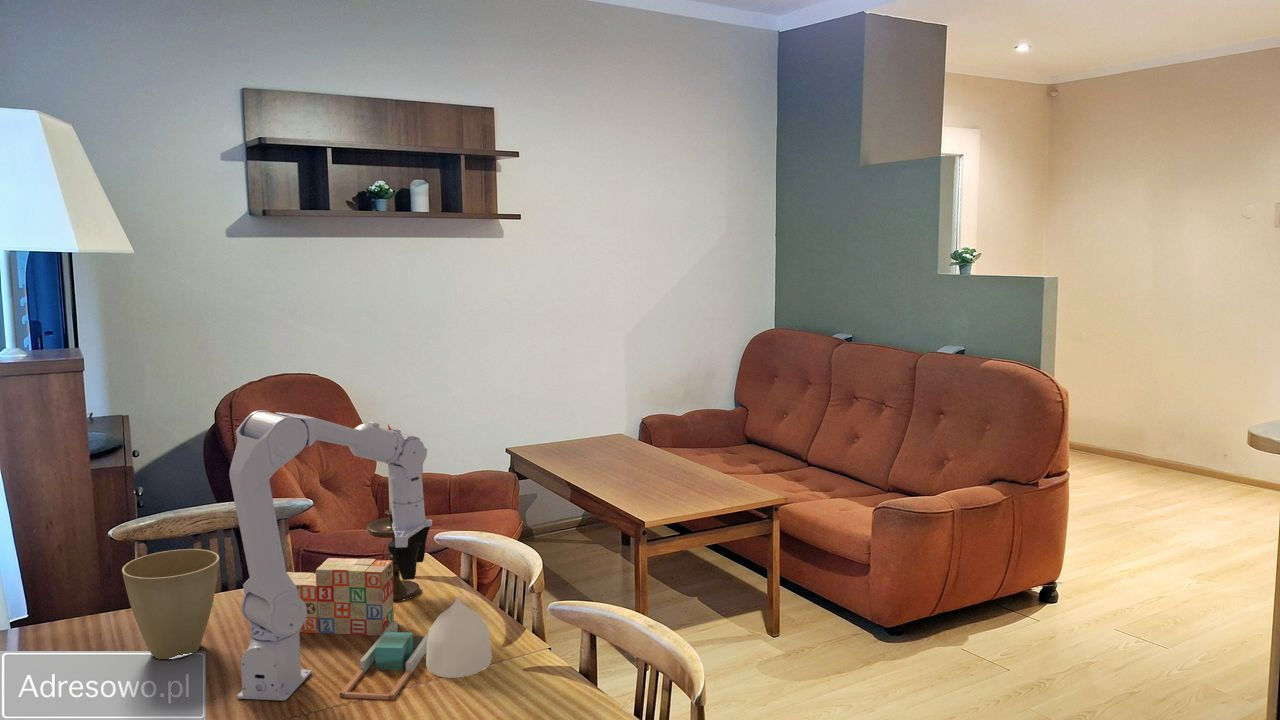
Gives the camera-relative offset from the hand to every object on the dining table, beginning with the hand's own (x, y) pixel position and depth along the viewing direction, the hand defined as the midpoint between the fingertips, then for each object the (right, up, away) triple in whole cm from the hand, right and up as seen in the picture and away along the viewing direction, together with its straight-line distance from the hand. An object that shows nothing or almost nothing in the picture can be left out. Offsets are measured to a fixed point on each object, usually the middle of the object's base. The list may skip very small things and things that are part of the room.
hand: (413, 570), depth 166 cm
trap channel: (0, -13, -12) cm, 18 cm away
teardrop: (+11, -13, -11) cm, 21 cm away
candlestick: (-8, -9, +19) cm, 22 cm away
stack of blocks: (-16, -11, +3) cm, 19 cm away
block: (0, -13, -11) cm, 17 cm away
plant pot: (-39, -12, -8) cm, 42 cm away
